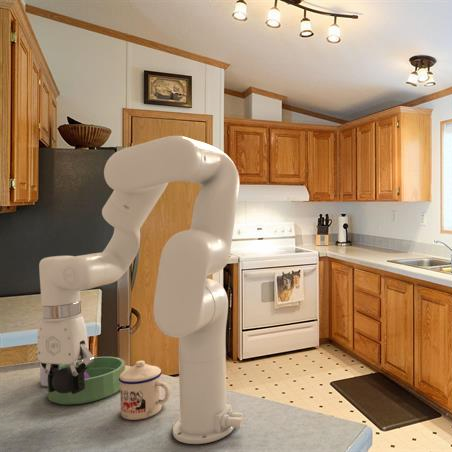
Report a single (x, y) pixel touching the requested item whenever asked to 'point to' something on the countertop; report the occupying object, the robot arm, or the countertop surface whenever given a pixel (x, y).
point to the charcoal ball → (62, 380)
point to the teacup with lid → (141, 391)
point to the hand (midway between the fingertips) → (67, 389)
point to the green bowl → (94, 382)
